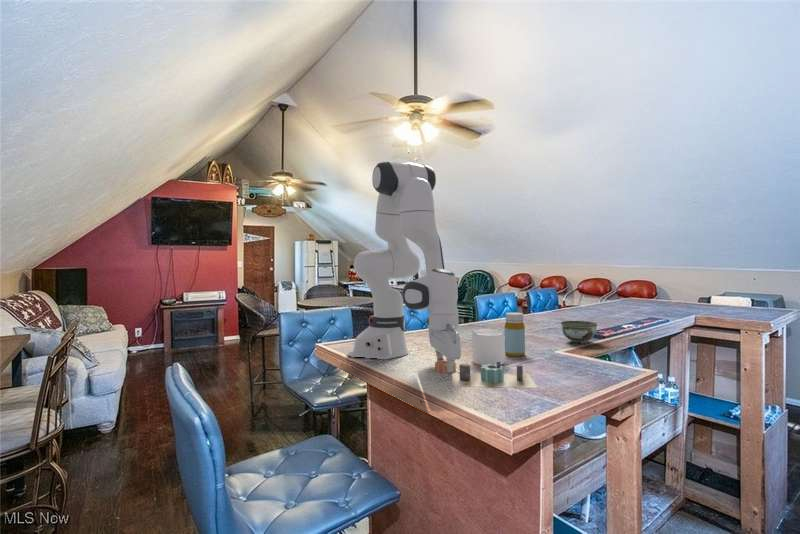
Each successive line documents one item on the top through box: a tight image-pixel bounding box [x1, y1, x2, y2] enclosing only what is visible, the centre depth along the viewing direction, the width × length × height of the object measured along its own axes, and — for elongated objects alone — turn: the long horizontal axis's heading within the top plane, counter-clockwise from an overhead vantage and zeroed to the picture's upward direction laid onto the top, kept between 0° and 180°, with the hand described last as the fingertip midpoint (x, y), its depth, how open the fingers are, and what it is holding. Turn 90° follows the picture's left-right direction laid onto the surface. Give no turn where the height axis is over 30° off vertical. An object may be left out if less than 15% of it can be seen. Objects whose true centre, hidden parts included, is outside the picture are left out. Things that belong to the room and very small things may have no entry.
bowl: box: [560, 320, 598, 344], centre depth 158 cm, size 14×13×8 cm
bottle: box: [504, 311, 526, 358], centre depth 140 cm, size 7×7×15 cm
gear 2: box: [480, 361, 505, 383], centre depth 108 cm, size 6×6×5 cm
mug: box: [471, 329, 505, 366], centre depth 129 cm, size 14×10×11 cm
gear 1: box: [434, 359, 457, 374], centre depth 119 cm, size 6×6×4 cm
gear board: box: [451, 363, 539, 389], centre depth 108 cm, size 22×12×5 cm, turn 83°
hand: (444, 367), depth 118 cm, fingers open, 8 cm apart
